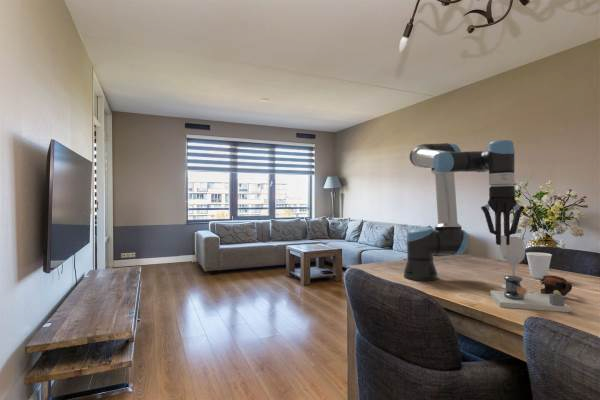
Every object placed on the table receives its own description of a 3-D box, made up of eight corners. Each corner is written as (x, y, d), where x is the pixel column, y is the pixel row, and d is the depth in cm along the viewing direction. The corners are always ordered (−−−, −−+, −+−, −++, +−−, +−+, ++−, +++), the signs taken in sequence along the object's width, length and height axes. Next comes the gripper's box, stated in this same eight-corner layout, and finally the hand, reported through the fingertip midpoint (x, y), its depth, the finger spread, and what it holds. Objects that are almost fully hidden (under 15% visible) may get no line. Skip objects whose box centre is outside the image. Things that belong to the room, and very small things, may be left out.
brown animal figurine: (531, 293, 129) (534, 274, 132) (551, 303, 130) (554, 283, 133) (561, 294, 118) (564, 272, 121) (582, 304, 119) (585, 282, 122)
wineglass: (522, 286, 138) (521, 236, 138) (529, 291, 130) (528, 238, 130) (499, 284, 141) (498, 236, 141) (504, 290, 133) (503, 238, 133)
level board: (500, 306, 113) (499, 288, 113) (490, 294, 127) (490, 278, 127) (570, 312, 107) (570, 292, 107) (551, 298, 121) (551, 281, 121)
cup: (543, 275, 157) (543, 252, 156) (557, 280, 147) (557, 255, 147) (521, 275, 158) (521, 252, 157) (534, 280, 148) (533, 255, 148)
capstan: (501, 293, 123) (501, 275, 123) (520, 294, 121) (519, 275, 121) (512, 304, 110) (512, 284, 110) (533, 306, 108) (533, 285, 108)
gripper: (482, 186, 111) (483, 255, 111) (527, 184, 107) (528, 257, 107) (478, 186, 118) (479, 252, 118) (520, 185, 114) (521, 253, 114)
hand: (502, 254), depth 113 cm, fingers closed
